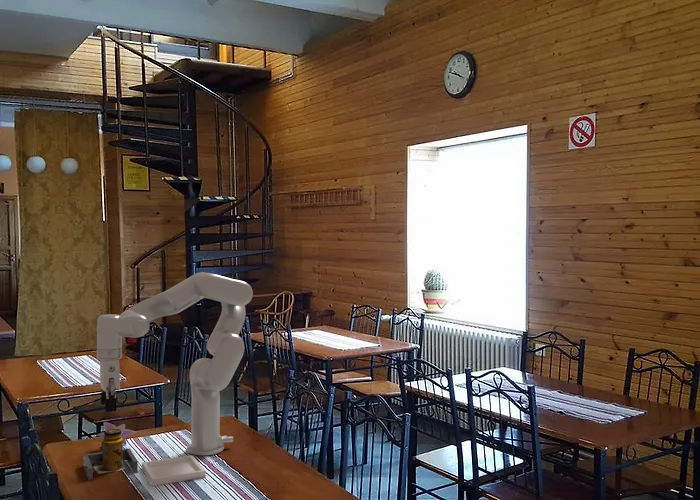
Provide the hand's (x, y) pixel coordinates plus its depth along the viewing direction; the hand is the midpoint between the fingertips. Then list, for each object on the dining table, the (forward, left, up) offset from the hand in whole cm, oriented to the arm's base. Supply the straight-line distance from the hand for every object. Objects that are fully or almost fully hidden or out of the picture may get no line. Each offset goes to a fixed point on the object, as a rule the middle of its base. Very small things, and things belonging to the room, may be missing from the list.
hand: (108, 407), depth 212 cm
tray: (-17, +13, -20) cm, 29 cm away
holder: (0, +1, -20) cm, 20 cm away
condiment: (0, 0, -20) cm, 20 cm away
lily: (-5, -20, -20) cm, 29 cm away
